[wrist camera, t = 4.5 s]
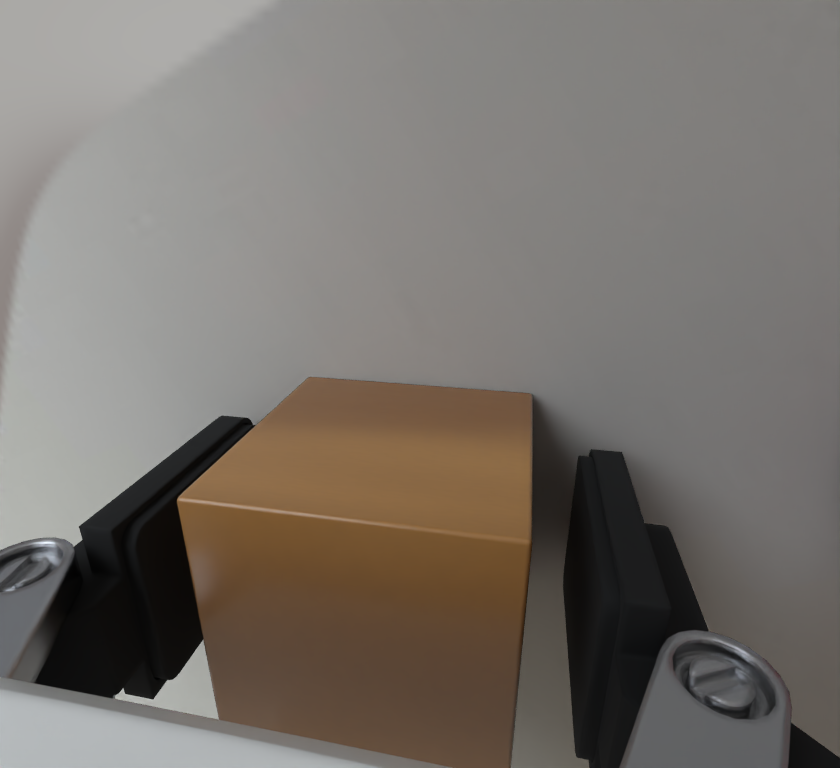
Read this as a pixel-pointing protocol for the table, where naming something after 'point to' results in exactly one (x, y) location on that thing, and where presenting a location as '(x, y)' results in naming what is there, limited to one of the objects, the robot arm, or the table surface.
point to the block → (370, 568)
